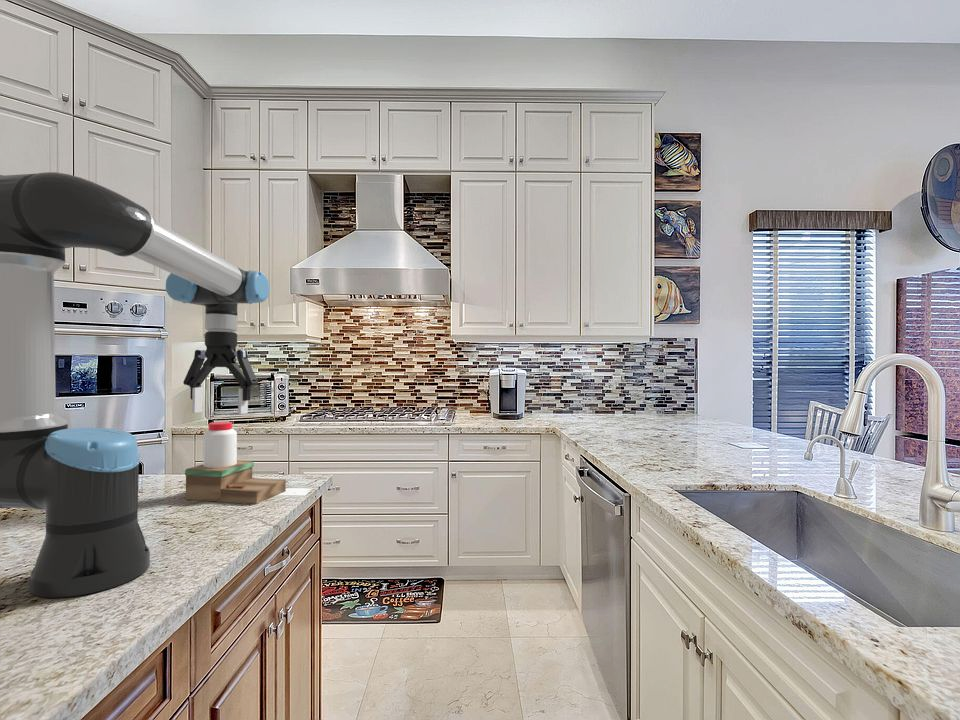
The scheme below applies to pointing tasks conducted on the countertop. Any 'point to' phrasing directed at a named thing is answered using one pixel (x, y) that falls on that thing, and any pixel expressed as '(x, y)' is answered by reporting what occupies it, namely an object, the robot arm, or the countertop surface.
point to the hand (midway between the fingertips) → (219, 413)
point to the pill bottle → (220, 445)
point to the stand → (230, 484)
